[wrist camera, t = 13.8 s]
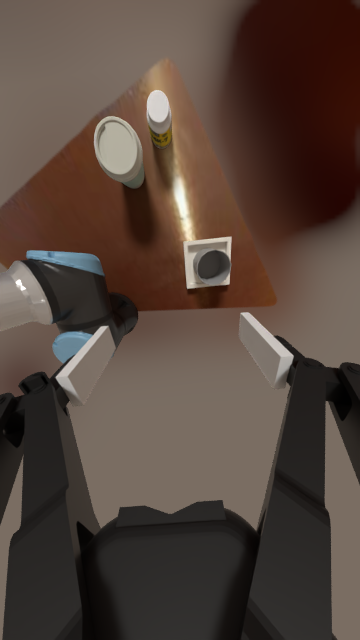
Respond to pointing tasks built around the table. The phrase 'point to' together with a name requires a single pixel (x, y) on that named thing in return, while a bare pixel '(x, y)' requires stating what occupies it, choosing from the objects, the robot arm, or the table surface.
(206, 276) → the cup
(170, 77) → the table surface
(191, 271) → the tray
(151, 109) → the supplement bottle
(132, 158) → the coffee cup
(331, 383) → the robot arm
